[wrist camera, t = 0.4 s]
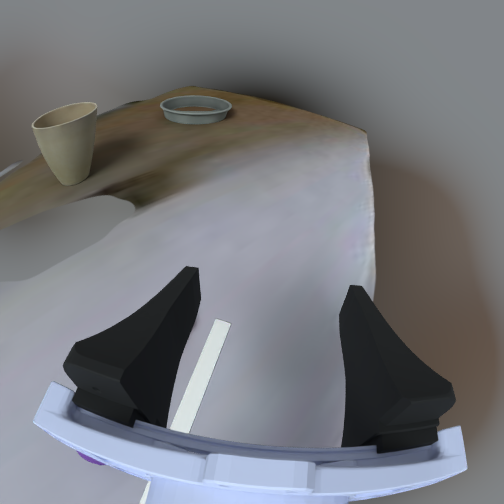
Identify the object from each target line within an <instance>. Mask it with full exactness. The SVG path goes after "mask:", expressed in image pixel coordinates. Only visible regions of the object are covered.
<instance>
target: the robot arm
mask: <svg viewBox="0 0 504 504" xmlns="http://www.w3.org/2000/svg"><path fill="white" fill-rule="evenodd" d="M200 301H201V292H200V281H199V268H196V267H189V266H186V267H185V268H184V269H183V270H182V271H181V272H180V273H179V274H178V275H177V276H176V277H175V278H174V279H173V280H172V281H171V282H170V283H169V284H167V285H166V286H165V287H164V288H163V289H162V290H161V291H160V292H159V293H158V294H157V295H156V296H154V297H153V298H152V299H151V300H150V301H149V302H147V303H146V304H145V305H144V306H142V307H141V308H140V309H139V310H137V311H136V312H134V313H133V314H132V315H130V316H129V317H127V318H126V319H124V320H122V321H121V322H119V323H117V324H116V325H114V326H112V327H110V328H108V329H106V330H105V331H102V332H100V333H98V334H96V335H94V336H91V337H89V338H86V339H84V340H81V341H79V342H76V343H75V344H74V346H73V347H72V349H71V351H70V353H69V354H68V356H67V358H66V360H65V362H64V364H63V368H64V371H65V372H66V374H67V375H68V376H69V378H70V379H71V380H72V381H73V382H74V384H75V385H76V386H77V387H78V388H77V390H76V392H74V391H72V390H71V389H69V388H67V387H65V386H63V385H61V384H59V383H57V382H54V381H52V382H51V384H50V386H49V388H48V390H47V392H46V394H45V396H44V398H43V400H42V402H41V405H40V407H39V409H38V411H37V413H36V415H35V418H34V420H33V422H34V424H36V425H37V426H38V427H40V428H41V429H43V430H44V431H45V432H47V433H48V434H50V435H51V436H52V437H54V438H55V439H57V440H58V441H60V442H62V443H64V444H65V445H67V446H69V447H71V448H73V449H75V450H77V451H79V452H81V453H83V454H85V455H87V456H89V457H91V458H93V459H95V460H97V461H100V462H102V463H104V464H106V465H109V466H111V467H113V468H116V469H118V470H121V471H123V472H126V473H128V474H131V475H134V476H136V477H139V478H142V479H145V480H148V481H151V483H150V487H149V491H148V495H147V499H146V502H145V504H348V502H349V501H357V500H364V499H370V498H376V497H381V496H386V495H391V494H396V493H400V492H404V491H409V490H413V489H416V488H420V487H424V486H427V485H431V484H434V483H437V482H440V481H442V480H445V479H447V478H449V477H452V476H454V475H456V474H458V473H461V472H463V471H465V470H466V469H467V462H466V455H465V449H464V443H463V437H462V432H461V427H460V426H455V427H451V428H447V429H443V430H440V431H438V432H437V428H436V426H438V425H439V417H440V416H442V415H443V414H444V413H445V412H447V411H448V410H449V409H450V408H451V407H452V406H453V405H454V403H455V401H456V399H455V394H454V391H453V387H452V384H451V383H450V382H449V381H447V380H446V379H444V378H443V377H442V376H440V375H439V374H437V373H436V372H435V371H433V370H432V369H431V368H430V367H428V366H427V365H426V364H425V363H424V362H422V361H421V360H420V359H419V358H418V357H417V356H416V355H415V354H414V353H413V352H412V351H411V350H410V349H409V348H408V347H407V346H406V345H405V344H404V343H403V342H402V340H401V339H400V338H399V337H398V336H397V335H396V334H395V332H394V331H393V330H392V328H391V327H390V326H389V325H388V323H387V322H386V321H385V319H384V318H383V316H382V315H381V313H380V312H379V310H378V309H377V308H376V306H375V305H374V303H373V302H372V300H371V299H370V297H369V296H368V294H367V293H366V291H365V290H364V288H363V287H362V286H357V285H350V287H349V290H348V292H347V295H346V298H345V300H344V303H343V306H342V308H341V311H340V314H339V327H340V339H341V346H342V353H343V360H344V367H345V377H346V400H345V418H344V430H343V438H342V445H341V448H296V447H277V446H265V445H255V444H246V443H238V442H231V441H225V440H219V439H213V438H207V437H202V436H197V435H192V434H188V433H183V432H179V431H175V430H171V429H167V428H166V426H167V420H168V413H169V407H170V402H171V397H172V392H173V387H174V383H175V379H176V374H177V370H178V366H179V362H180V359H181V356H182V353H183V350H184V348H185V345H186V343H187V340H188V338H189V335H190V332H191V330H192V327H193V325H194V322H195V319H196V317H197V313H198V309H199V305H200ZM188 451H189V452H188ZM191 452H194V453H191Z"/></svg>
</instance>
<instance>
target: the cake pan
mask: <svg viewBox="0 0 504 504" xmlns="http://www.w3.org/2000/svg"><path fill="white" fill-rule="evenodd" d="M190 106H200V107H209V108H213V109H217V110H213V111H175V110H173V109H176V108H181V107H190ZM160 107H161V108H162V109H163V110H164V115H165V117H166V118H167V119H168V120H170V121H173V122H177V123H183V124H208V123H214V122H218V121H221V120H223V119H224V118H225V117H226V114H227V112H228V110H230V109H231V108H232V105H231V104H230V103H229V102H228V101H226V100H223V99H219V98H215V97H209V96H180V97H174V98H170V99H167V100H165V101H163V102H162V103H161V104H160Z"/></svg>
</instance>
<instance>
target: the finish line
mask: <svg viewBox="0 0 504 504" xmlns="http://www.w3.org/2000/svg"><path fill="white" fill-rule="evenodd" d="M230 325H231V323H228V322H225V321H222V320H219V319H216V320H215V322H214V325H213V327H212V329H211V332H210V334H209V336H208V339H207V341H206V344H205V346H204V348H203V351H202V353H201V356H200V358H199V360H198V363H197V365H196V367H195V370H194V372H193V375H192V377H191V379H190V382H189V384H188V387H187V389H186V391H185V394H184V396H183V399H182V401H181V403H180V406H179V408H178V411H177V413H176V415H175V418H174V420H173V423H172V425H171V428H170V429H171V430H175V431H179V432H183V433H188V434H189V432H190V429H191V426H192V424H193V421H194V419H195V416H196V414H197V411H198V408H199V406H200V403H201V401H202V398H203V395H204V393H205V390H206V388H207V385H208V383H209V380H210V377H211V375H212V372H213V370H214V367H215V364H216V362H217V359H218V357H219V354H220V351H221V349H222V346H223V343H224V341H225V338H226V336H227V333H228V330H229V328H230ZM150 483H151V481H148V484H147V486H146V489H145V491H144V494H143V496H142V499H141V501H140V504H145V502H146V499H147V495H148V491H149V487H150Z"/></svg>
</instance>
